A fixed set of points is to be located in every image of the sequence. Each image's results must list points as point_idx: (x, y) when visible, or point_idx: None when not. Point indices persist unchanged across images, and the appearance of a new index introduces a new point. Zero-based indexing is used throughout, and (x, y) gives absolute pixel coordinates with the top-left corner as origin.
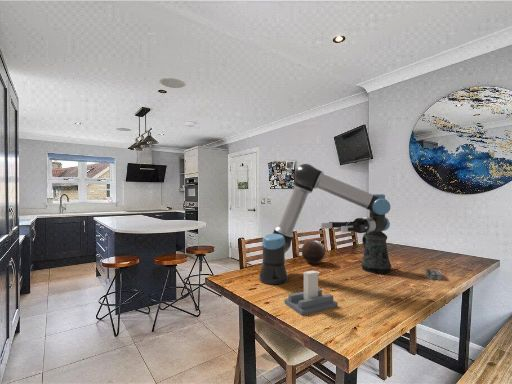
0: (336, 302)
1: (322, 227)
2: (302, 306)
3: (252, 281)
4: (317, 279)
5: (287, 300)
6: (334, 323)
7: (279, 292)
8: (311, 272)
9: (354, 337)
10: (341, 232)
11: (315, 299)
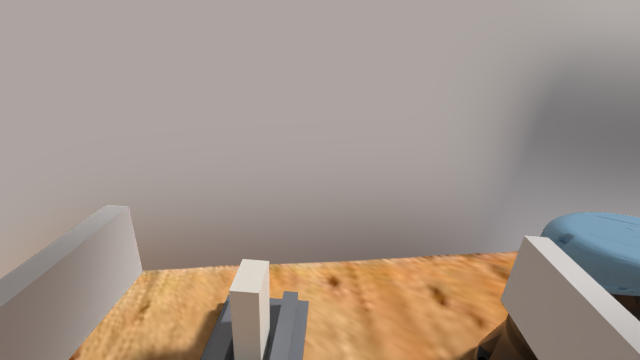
0: None
1: (509, 292)
2: None
3: None
4: (231, 310)
5: (299, 304)
6: (135, 336)
7: (387, 340)
8: (245, 274)
9: None
10: (135, 270)
11: (219, 327)
